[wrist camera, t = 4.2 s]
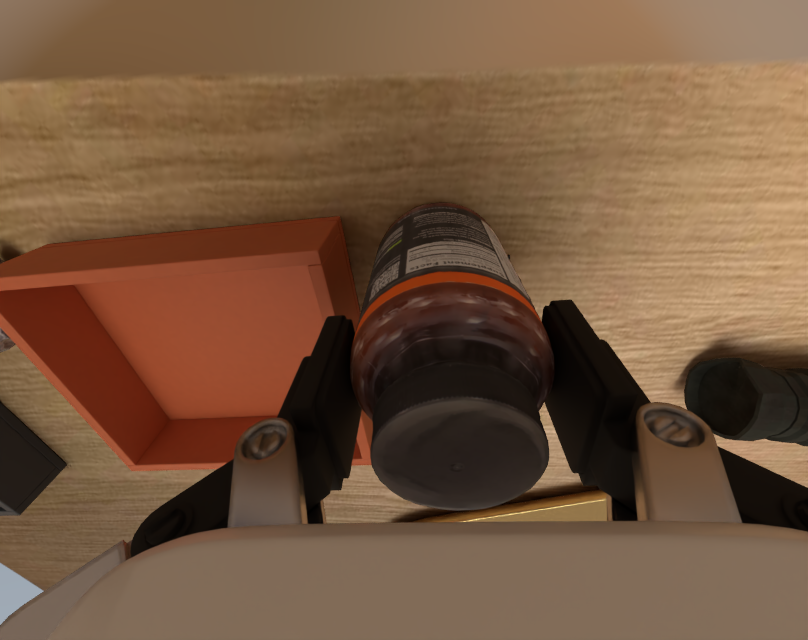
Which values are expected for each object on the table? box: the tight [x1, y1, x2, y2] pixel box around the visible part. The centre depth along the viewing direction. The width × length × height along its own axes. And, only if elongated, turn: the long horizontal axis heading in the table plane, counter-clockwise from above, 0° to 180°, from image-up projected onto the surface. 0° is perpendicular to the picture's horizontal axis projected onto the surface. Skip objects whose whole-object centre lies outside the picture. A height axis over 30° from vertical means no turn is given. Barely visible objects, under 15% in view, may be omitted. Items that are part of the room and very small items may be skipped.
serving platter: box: [410, 490, 607, 523], centre depth 32 cm, size 19×35×2 cm, turn 112°
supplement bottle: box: [350, 203, 555, 510], centre depth 12 cm, size 6×6×11 cm
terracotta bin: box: [0, 216, 373, 471], centre depth 19 cm, size 13×15×4 cm
